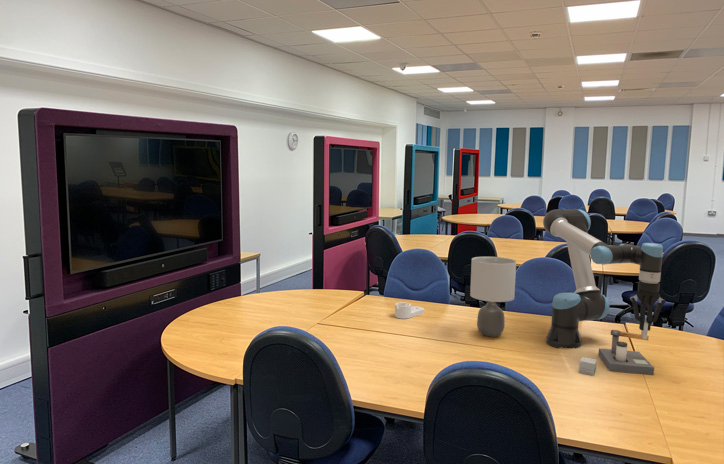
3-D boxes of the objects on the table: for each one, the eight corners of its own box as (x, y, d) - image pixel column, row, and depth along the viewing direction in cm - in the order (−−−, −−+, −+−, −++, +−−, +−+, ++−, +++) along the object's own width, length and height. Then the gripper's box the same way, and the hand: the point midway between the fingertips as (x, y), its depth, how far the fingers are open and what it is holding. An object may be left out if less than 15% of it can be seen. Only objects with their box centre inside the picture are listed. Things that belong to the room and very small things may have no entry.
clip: (648, 341, 203) (648, 337, 203) (610, 335, 210) (610, 331, 210) (648, 338, 207) (648, 335, 206) (610, 332, 214) (611, 329, 213)
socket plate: (609, 370, 199) (611, 346, 197) (598, 354, 216) (600, 332, 215) (653, 374, 195) (655, 349, 194) (638, 358, 213) (640, 335, 212)
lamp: (465, 337, 236) (468, 261, 232) (472, 325, 255) (475, 255, 251) (510, 343, 229) (514, 265, 224) (514, 330, 248) (518, 258, 243)
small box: (594, 375, 194) (595, 363, 193) (578, 372, 197) (579, 360, 196) (596, 371, 198) (597, 359, 198) (580, 367, 202) (581, 356, 201)
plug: (616, 367, 202) (618, 344, 201) (613, 364, 206) (615, 341, 204) (626, 368, 201) (628, 345, 200) (623, 365, 205) (625, 341, 204)
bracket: (403, 319, 264) (404, 307, 264) (391, 316, 270) (391, 304, 270) (426, 312, 278) (427, 300, 278) (414, 309, 284) (415, 298, 284)
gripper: (634, 282, 199) (629, 339, 201) (670, 284, 196) (664, 342, 199) (628, 278, 206) (623, 333, 209) (663, 280, 203) (657, 336, 206)
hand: (643, 337), depth 204 cm, fingers closed, pressing on clip
